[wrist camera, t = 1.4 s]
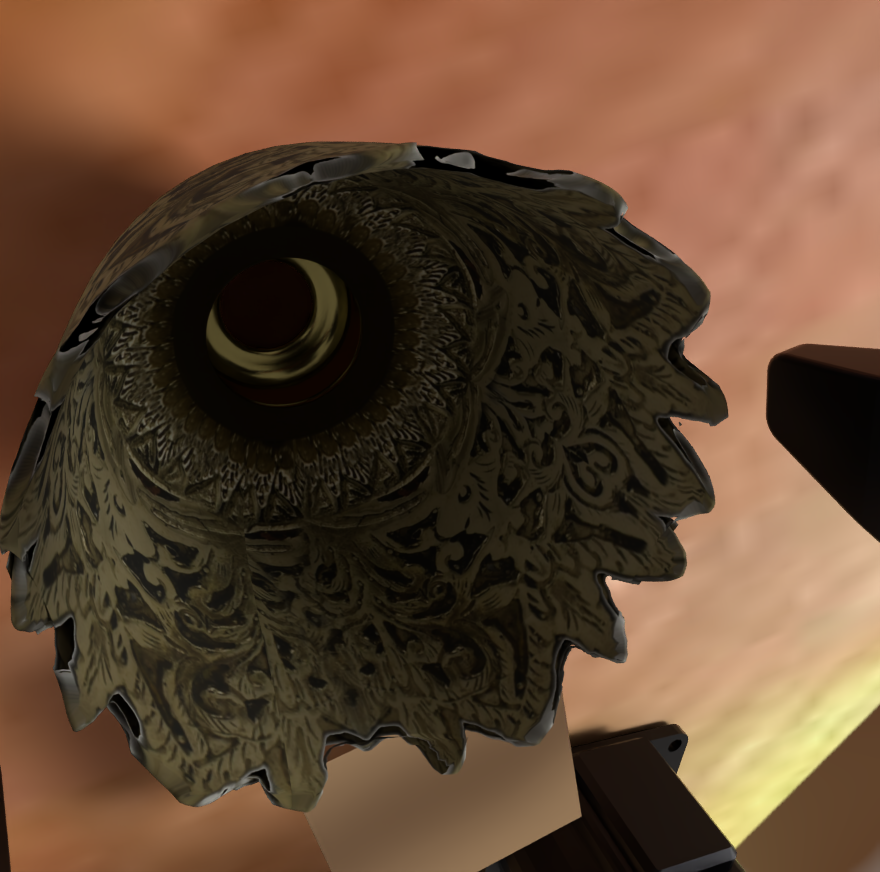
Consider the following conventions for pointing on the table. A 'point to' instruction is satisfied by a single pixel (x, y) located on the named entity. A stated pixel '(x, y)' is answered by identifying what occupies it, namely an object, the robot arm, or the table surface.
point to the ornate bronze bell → (355, 463)
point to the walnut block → (443, 803)
